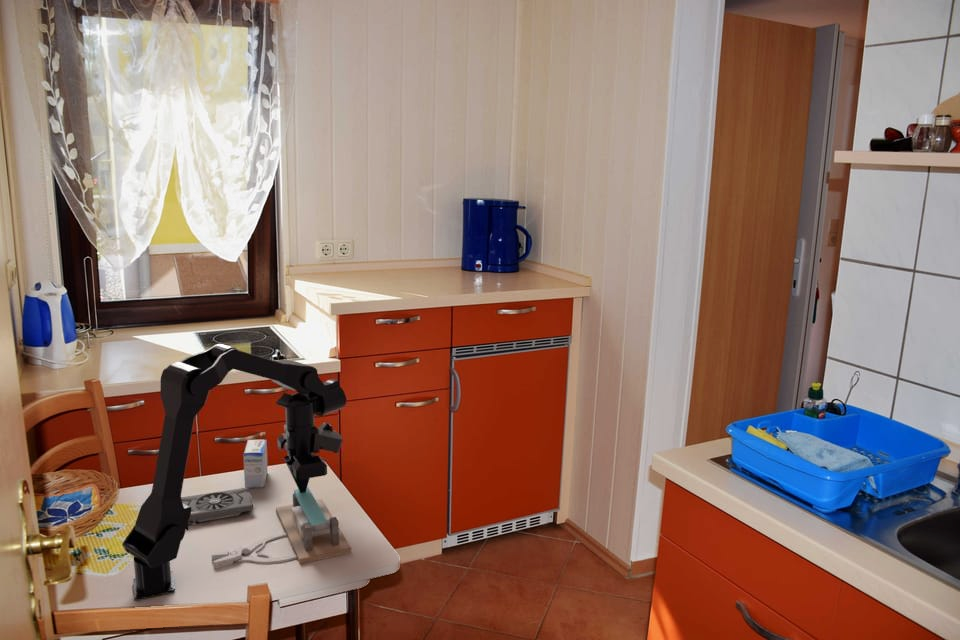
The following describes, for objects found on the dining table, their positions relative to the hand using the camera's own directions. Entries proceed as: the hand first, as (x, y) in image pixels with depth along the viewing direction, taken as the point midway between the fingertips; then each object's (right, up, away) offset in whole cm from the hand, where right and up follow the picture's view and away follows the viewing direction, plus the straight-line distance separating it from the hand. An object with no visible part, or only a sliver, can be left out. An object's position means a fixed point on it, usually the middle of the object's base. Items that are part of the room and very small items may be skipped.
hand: (302, 491), depth 157 cm
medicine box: (-15, -1, +17) cm, 23 cm away
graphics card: (-19, -6, +1) cm, 20 cm away
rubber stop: (0, -5, +2) cm, 6 cm away
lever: (+3, -3, -6) cm, 7 cm away
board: (+3, -7, -5) cm, 9 cm away
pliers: (-6, -9, -14) cm, 18 cm away
